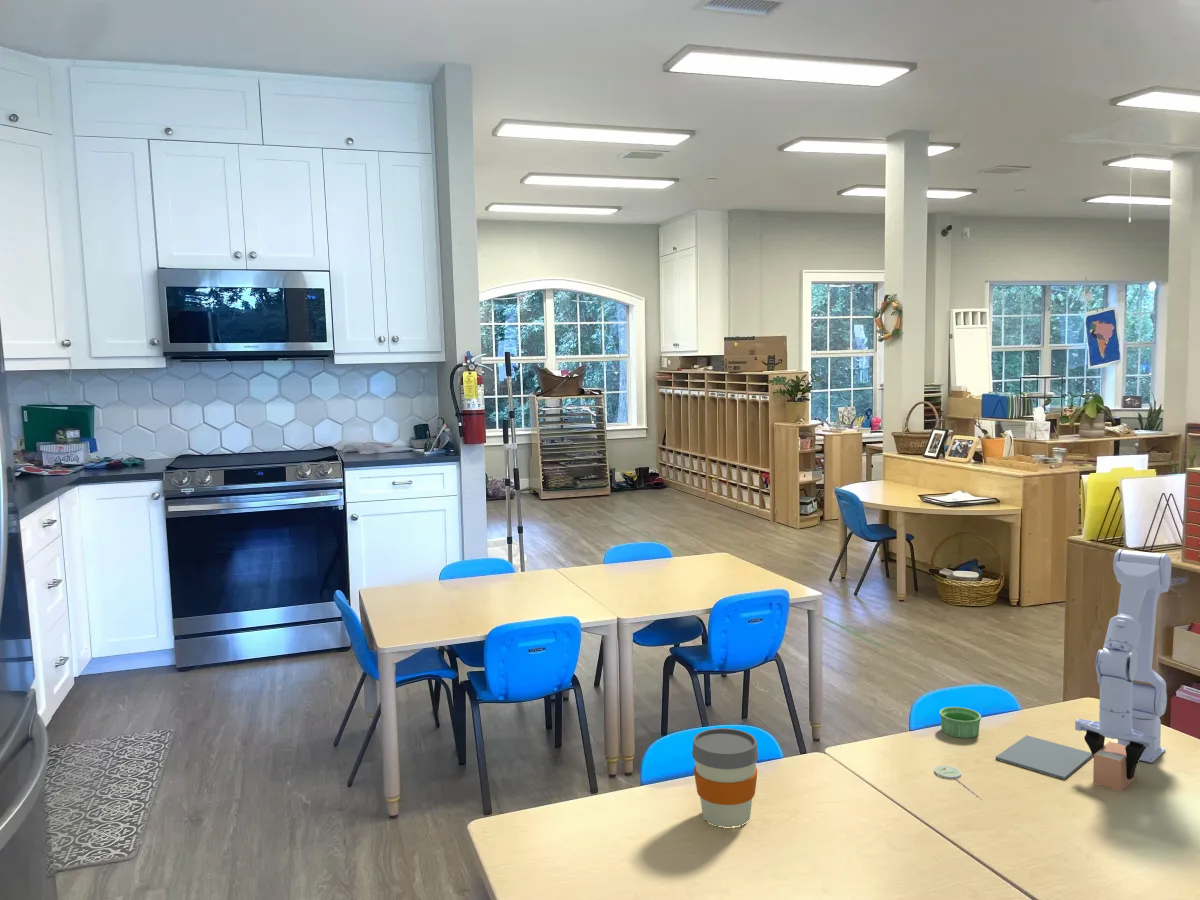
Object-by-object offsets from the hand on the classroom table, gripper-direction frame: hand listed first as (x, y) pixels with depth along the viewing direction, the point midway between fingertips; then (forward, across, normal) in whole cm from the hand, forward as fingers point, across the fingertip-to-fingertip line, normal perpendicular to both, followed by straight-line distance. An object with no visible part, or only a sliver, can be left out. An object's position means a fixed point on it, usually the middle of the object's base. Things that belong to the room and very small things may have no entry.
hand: (1114, 773), depth 176 cm
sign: (+2, -21, -23) cm, 31 cm away
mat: (+1, -14, +1) cm, 14 cm away
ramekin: (+2, -33, +2) cm, 33 cm away
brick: (+1, 0, 0) cm, 1 cm away
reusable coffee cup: (+2, -46, -67) cm, 81 cm away
